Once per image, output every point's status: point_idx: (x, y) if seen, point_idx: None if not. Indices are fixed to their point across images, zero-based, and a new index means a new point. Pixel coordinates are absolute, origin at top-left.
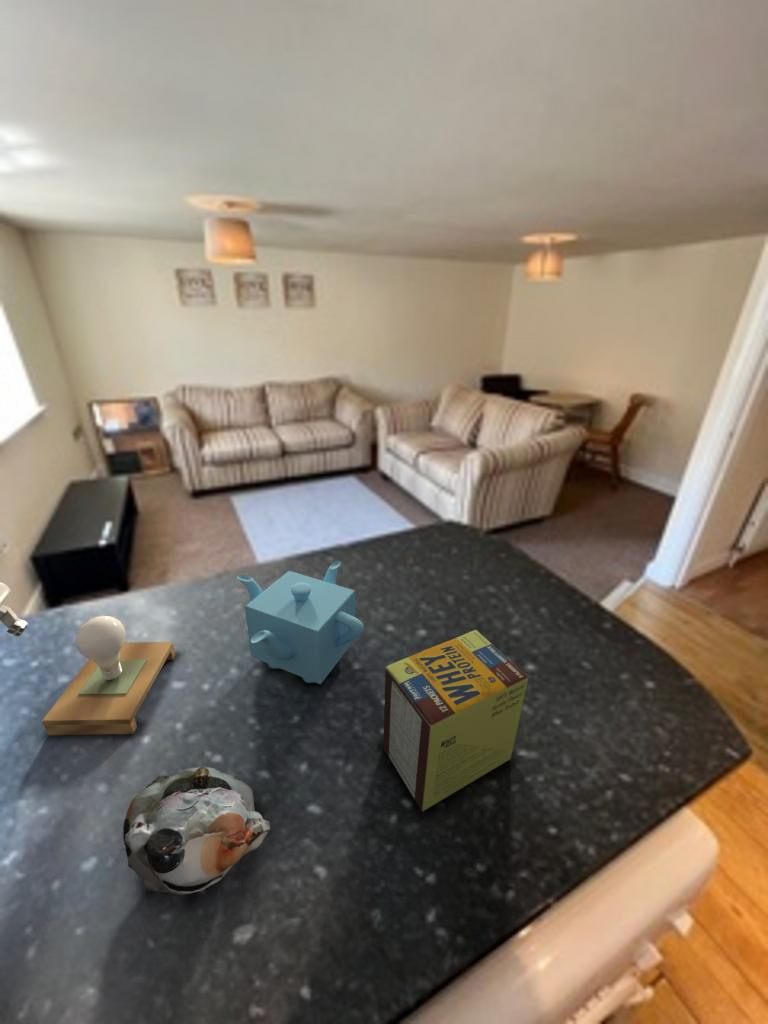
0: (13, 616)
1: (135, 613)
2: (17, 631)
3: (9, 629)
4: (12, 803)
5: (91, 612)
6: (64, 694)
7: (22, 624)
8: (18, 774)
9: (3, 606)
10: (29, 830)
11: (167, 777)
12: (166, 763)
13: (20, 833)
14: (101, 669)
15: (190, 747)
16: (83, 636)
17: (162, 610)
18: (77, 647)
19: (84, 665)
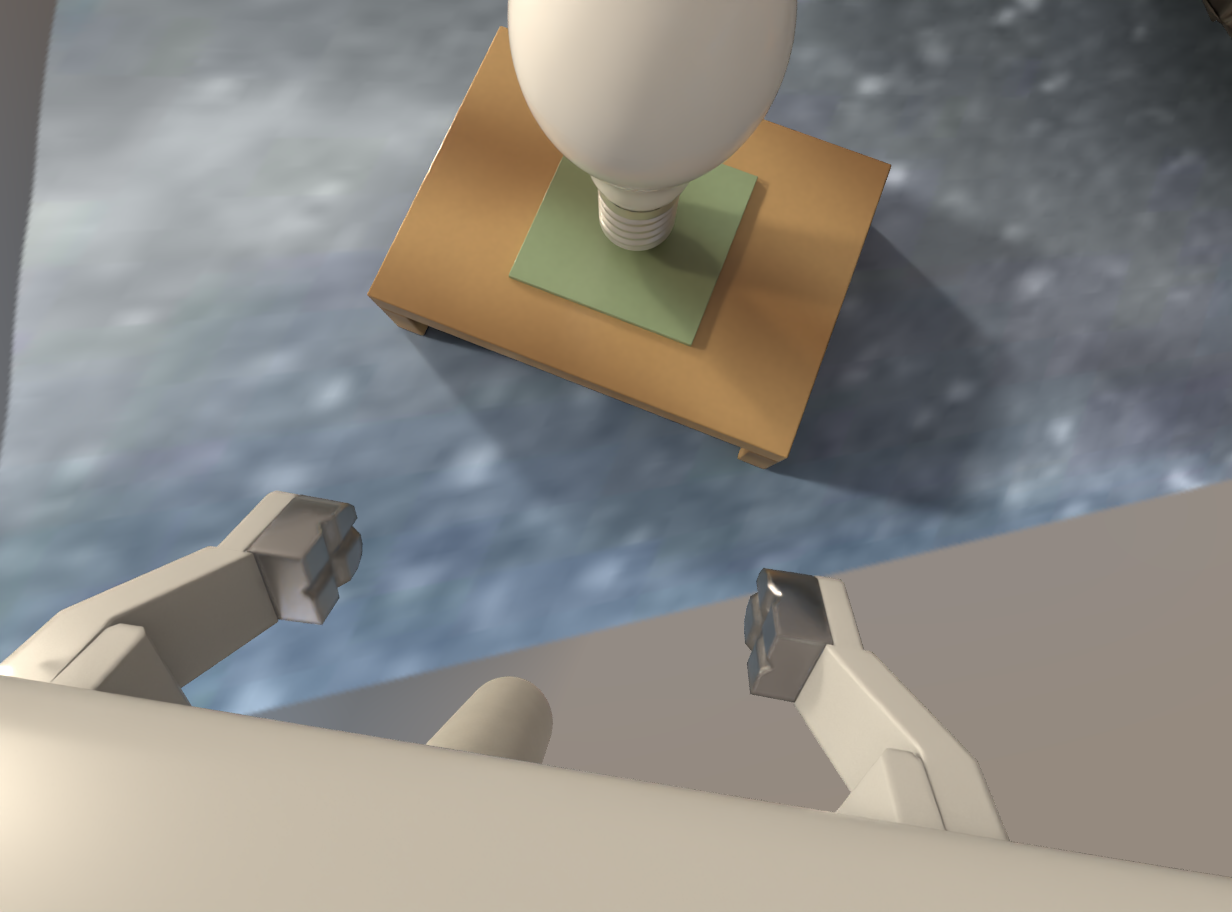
0: (202, 570)
1: (140, 233)
2: (341, 552)
3: (318, 600)
4: (1010, 521)
5: (24, 418)
6: (665, 399)
7: (300, 512)
8: (903, 529)
9: (31, 661)
10: (1116, 454)
11: (1229, 20)
12: (1004, 121)
13: (1119, 476)
14: (669, 208)
15: (968, 59)
16: (750, 11)
17: (177, 129)
18: (717, 140)
19: (506, 347)
